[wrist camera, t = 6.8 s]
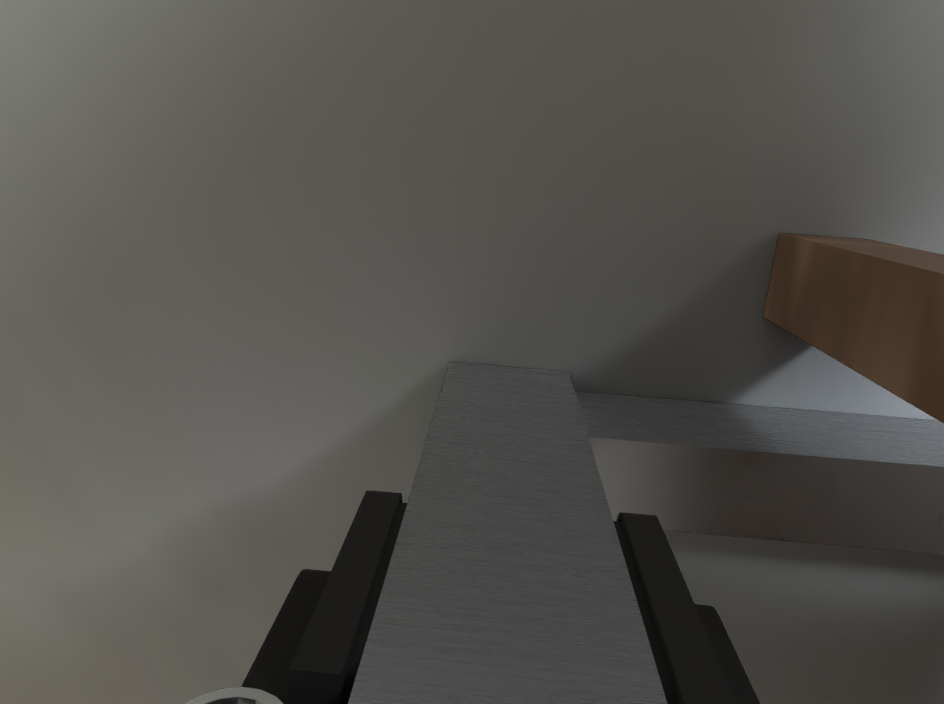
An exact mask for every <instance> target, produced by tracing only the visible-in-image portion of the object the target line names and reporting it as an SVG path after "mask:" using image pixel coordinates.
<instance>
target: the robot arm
mask: <svg viewBox="0 0 944 704" xmlns="http://www.w3.org/2000/svg"><path fill="white" fill-rule="evenodd" d="M406 507H407V503H402V494H401V493H391V492H379V491H366V493H365V495H364V497H363V500H362V502H361V504H360V506H359V509H358V511H357V513H356V516H355V518H354V520H353V523H352V525H351V527H350V529H349V532H348V534H347V536H346V539H345V541H344V543H343V546H342V548H341V550H340V552H339V555H338V557H337V559H336V562H335V564H334V566H333V569H332V571H320V570H309V569H304V570H302V571H301V572H300V574H299V575H298V577H297V579H296V581H295V582H294V584H293V586H292V588H291V590H290V592H289V594H288V596H287V598H286V600H285V602H284V604H283V606H282V608H281V610H280V612H279V614H278V616H277V618H276V620H275V622H274V624H273V626H272V628H271V629H270V631H269V633H268V635H267V637H266V639H265V641H264V643H263V645H262V647H261V649H260V651H259V653H258V655H257V657H256V659H255V661H254V663H253V665H252V667H251V669H250V671H249V673H248V674H247V676H246V678H245V680H244V682H243V684H242V686H241V687H234V688H222V689H218V690H215V691H212V692H208V693H205V694H202V695H199V696H197V697H196V698H194V699H192V700H190V701H188V702H186V703H184V704H348V702H349V698H350V695H351V692H352V688H353V685H354V682H355V678H356V675H357V671H358V668H359V665H360V661H361V658H362V655H363V651H364V648H365V645H366V641H367V638H368V634H369V631H370V628H371V624H372V621H373V618H374V614H375V611H376V608H377V604H378V601H379V597H380V594H381V591H382V587H383V584H384V581H385V577H386V574H387V571H388V567H389V564H390V560H391V557H392V554H393V550H394V547H395V544H396V540H397V537H398V533H399V530H400V527H401V523H402V520H403V517H404V513H405V510H406ZM613 522H614V525H615V529H616V532H617V535H618V539H619V542H620V545H621V549H622V552H623V555H624V559H625V562H626V566H627V569H628V572H629V576H630V579H631V582H632V586H633V589H634V593H635V596H636V599H637V603H638V606H639V609H640V613H641V616H642V620H643V623H644V626H645V630H646V633H647V636H648V640H649V643H650V647H651V650H652V653H653V657H654V660H655V663H656V667H657V670H658V674H659V677H660V680H661V684H662V687H663V690H664V694H665V697H666V701H667V704H760V703H759V701H758V698H757V696H756V694H755V692H754V690H753V688H752V686H751V683H750V681H749V679H748V677H747V675H746V673H745V671H744V668H743V666H742V664H741V662H740V660H739V658H738V656H737V653H736V651H735V649H734V647H733V645H732V643H731V641H730V638H729V636H728V634H727V632H726V630H725V628H724V626H723V623H722V621H721V619H720V617H719V615H718V613H717V612H716V610H715V609H714V608H713V607H711V606H708V605H697V604H694V602H693V600H692V598H691V595H690V593H689V590H688V588H687V586H686V583H685V581H684V579H683V576H682V574H681V572H680V569H679V567H678V564H677V562H676V560H675V557H674V555H673V553H672V550H671V548H670V546H669V543H668V541H667V538H666V536H665V534H664V531H663V529H662V527H661V524H660V522H659V520H658V518H657V516H656V515H646V514H634V513H623V512H620V513H619V514H618V517H617V521H613Z"/></svg>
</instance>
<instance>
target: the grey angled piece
mask: <svg viewBox="0 0 944 704" xmlns="http://www.w3.org/2000/svg"><path fill="white" fill-rule="evenodd" d="M620 512H623V513H634V514H646V515H656V516H657V518H658V520H659V522H660V524H661V527H662V529H663V530H666V531H677V532H689V533H700V534H712V535H723V536H735V537H746V538H758V539H769V540H781V541H792V542H804V543H815V544H827V545H838V546H850V547H861V548H873V549H884V550H896V551H907V552H918V553H930V554H941V555H944V423H942V422H941V421H935V420H922V419H910V418H898V417H885V416H873V415H861V414H848V413H836V412H824V411H811V410H799V409H787V408H774V407H762V406H750V405H737V404H725V403H713V402H700V401H688V400H676V399H663V398H651V397H639V396H626V395H614V394H602V393H589V392H577V391H575V390H574V387H573V383H572V380H571V377H570V373H569V372H566V371H554V370H541V369H529V368H516V367H504V366H491V365H479V364H466V363H454V362H449V365H448V369H447V372H446V375H445V379H444V382H443V385H442V389H441V392H440V395H439V399H438V402H437V406H436V409H435V412H434V416H433V419H432V422H431V426H430V429H429V433H428V436H427V439H426V443H425V446H424V449H423V453H422V456H421V459H420V463H419V466H418V470H417V473H416V476H415V480H414V483H413V486H412V490H411V493H410V496H409V500H408V503H407V507H406V510H405V513H404V517H403V520H402V523H401V527H400V530H399V533H398V537H397V540H396V544H395V547H394V550H393V554H392V557H391V560H390V564H389V567H388V571H387V574H386V577H385V581H384V584H383V587H382V591H381V594H380V597H379V601H378V604H377V608H376V611H375V614H374V618H373V621H372V624H371V628H370V631H369V634H368V638H367V641H366V645H365V648H364V651H363V655H362V658H361V661H360V665H359V668H358V671H357V675H356V678H355V682H354V685H353V688H352V692H351V695H350V698H349V702H348V704H667V701H666V697H665V694H664V690H663V687H662V684H661V680H660V677H659V674H658V670H657V667H656V663H655V660H654V657H653V653H652V650H651V647H650V643H649V640H648V636H647V633H646V630H645V626H644V623H643V620H642V616H641V613H640V609H639V606H638V603H637V599H636V596H635V593H634V589H633V586H632V582H631V579H630V576H629V572H628V569H627V566H626V562H625V559H624V555H623V552H622V549H621V545H620V542H619V539H618V535H617V532H616V529H615V525H614V522H613V521H617V517H618V514H619V513H620Z"/></svg>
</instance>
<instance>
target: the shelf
mask: <svg viewBox="0 0 944 704" xmlns="http://www.w3.org/2000/svg"><path fill="white" fill-rule="evenodd" d="M763 317H765V318H767V319H768V320H770V321H772V322H773V323H775V324H777V325H778V326H780V327H782V328H783V329H785V330H787V331H789V332H790V333H792V334H794V335H795V336H797V337H799V338H800V339H802V340H804V341H805V342H807V343H809V344H810V345H812V346H814V347H816V348H817V349H819V350H821V351H822V352H824V353H826V354H827V355H829V356H831V357H832V358H834V359H836V360H837V361H839V362H841V363H843V364H844V365H846V366H848V367H849V368H851V369H853V370H854V371H856V372H858V373H859V374H861V375H863V376H865V377H866V378H868V379H870V380H871V381H873V382H875V383H876V384H878V385H880V386H881V387H883V388H885V389H886V390H888V391H890V392H892V393H893V394H895V395H897V396H898V397H900V398H902V399H903V400H905V401H907V402H908V403H910V404H912V405H913V406H915V407H917V408H919V409H920V410H922V411H924V412H925V413H927V414H929V415H930V416H932V417H934V418H935V419H937V420H939V421H941V422H942V423H944V255H941V254H936V253H931V252H926V251H921V250H917V249H912V248H907V247H902V246H897V245H892V244H887V243H883V242H878V241H873V240H868V239H858V238H844V237H830V236H816V235H802V234H788V233H779V235H778V241H777V246H776V251H775V257H774V262H773V268H772V273H771V278H770V284H769V289H768V294H767V300H766V305H765V311H764V316H763Z"/></svg>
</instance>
